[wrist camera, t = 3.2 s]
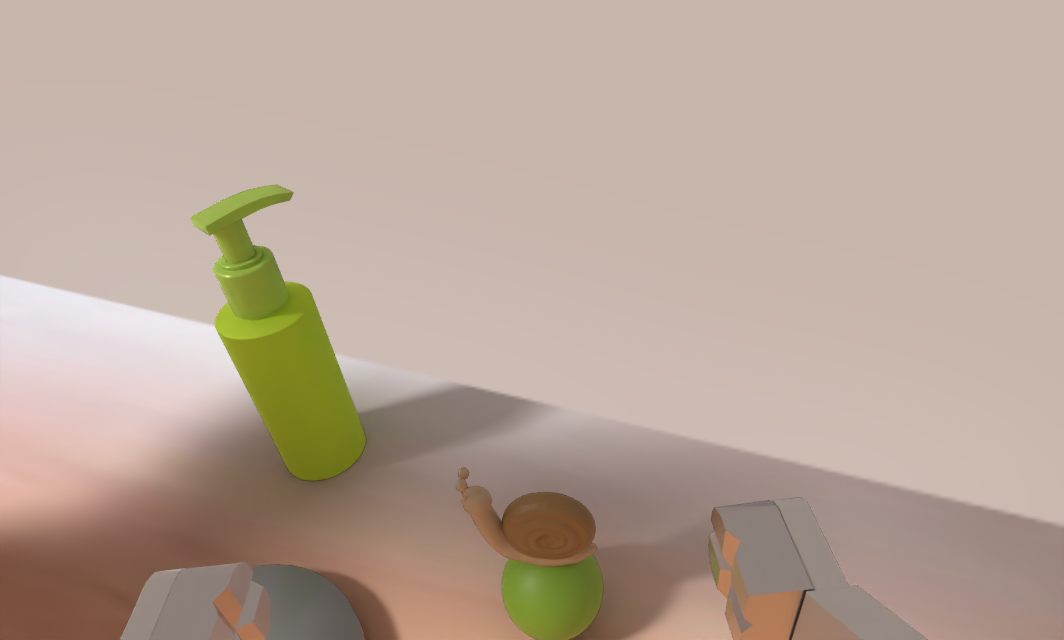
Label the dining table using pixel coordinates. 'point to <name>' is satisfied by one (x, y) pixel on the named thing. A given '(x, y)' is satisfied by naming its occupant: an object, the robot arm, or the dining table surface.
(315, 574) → the slate coaster
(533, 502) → the snail figurine
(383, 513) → the dining table surface
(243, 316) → the soap dispenser
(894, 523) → the dining table surface
